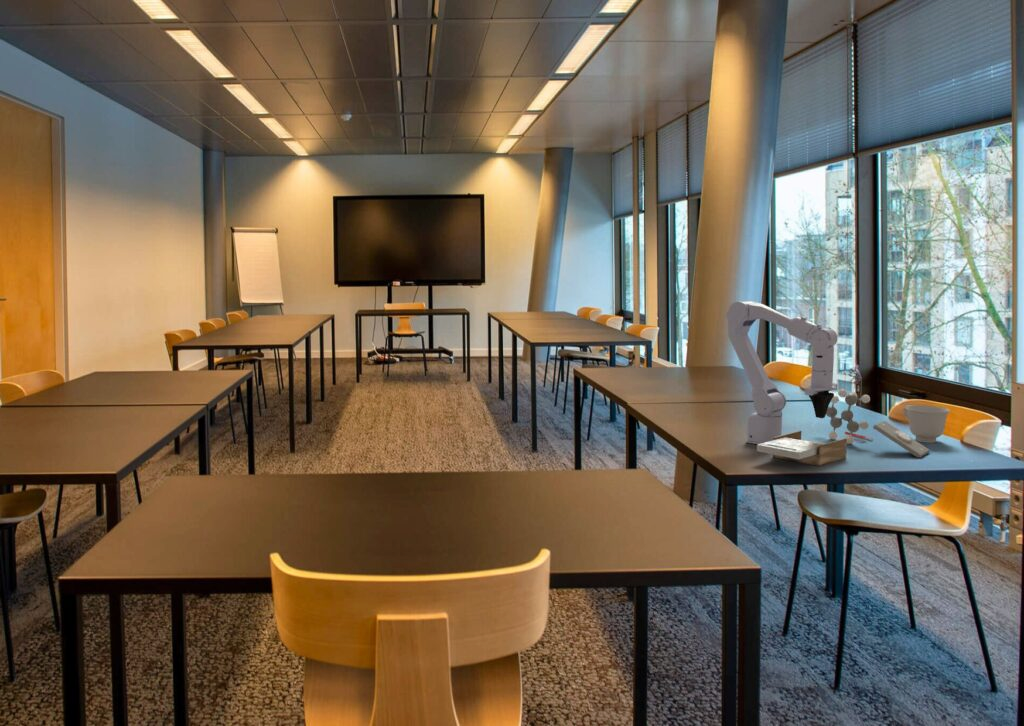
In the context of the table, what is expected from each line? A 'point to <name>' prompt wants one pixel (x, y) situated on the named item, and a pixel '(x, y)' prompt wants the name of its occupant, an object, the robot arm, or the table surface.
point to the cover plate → (790, 448)
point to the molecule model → (846, 416)
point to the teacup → (926, 421)
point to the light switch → (901, 439)
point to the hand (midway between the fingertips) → (820, 417)
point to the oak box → (826, 451)
